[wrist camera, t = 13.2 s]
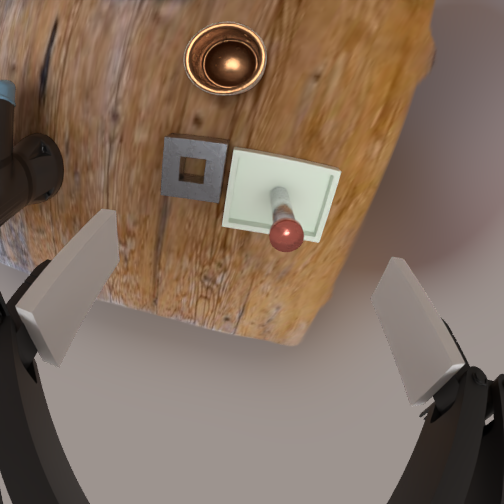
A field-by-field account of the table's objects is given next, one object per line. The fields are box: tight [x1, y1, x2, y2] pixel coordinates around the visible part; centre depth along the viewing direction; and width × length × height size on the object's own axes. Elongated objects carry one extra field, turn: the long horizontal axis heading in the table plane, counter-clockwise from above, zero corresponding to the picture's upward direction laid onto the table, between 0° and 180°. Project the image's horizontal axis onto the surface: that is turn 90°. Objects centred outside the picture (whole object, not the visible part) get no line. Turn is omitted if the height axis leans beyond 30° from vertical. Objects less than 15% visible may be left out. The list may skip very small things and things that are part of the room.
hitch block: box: [161, 133, 230, 203], centre depth 45 cm, size 10×10×4 cm
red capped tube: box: [269, 186, 304, 252], centre depth 42 cm, size 4×4×15 cm
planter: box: [184, 22, 267, 95], centre depth 33 cm, size 11×11×10 cm
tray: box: [222, 147, 341, 243], centre depth 48 cm, size 18×14×2 cm
